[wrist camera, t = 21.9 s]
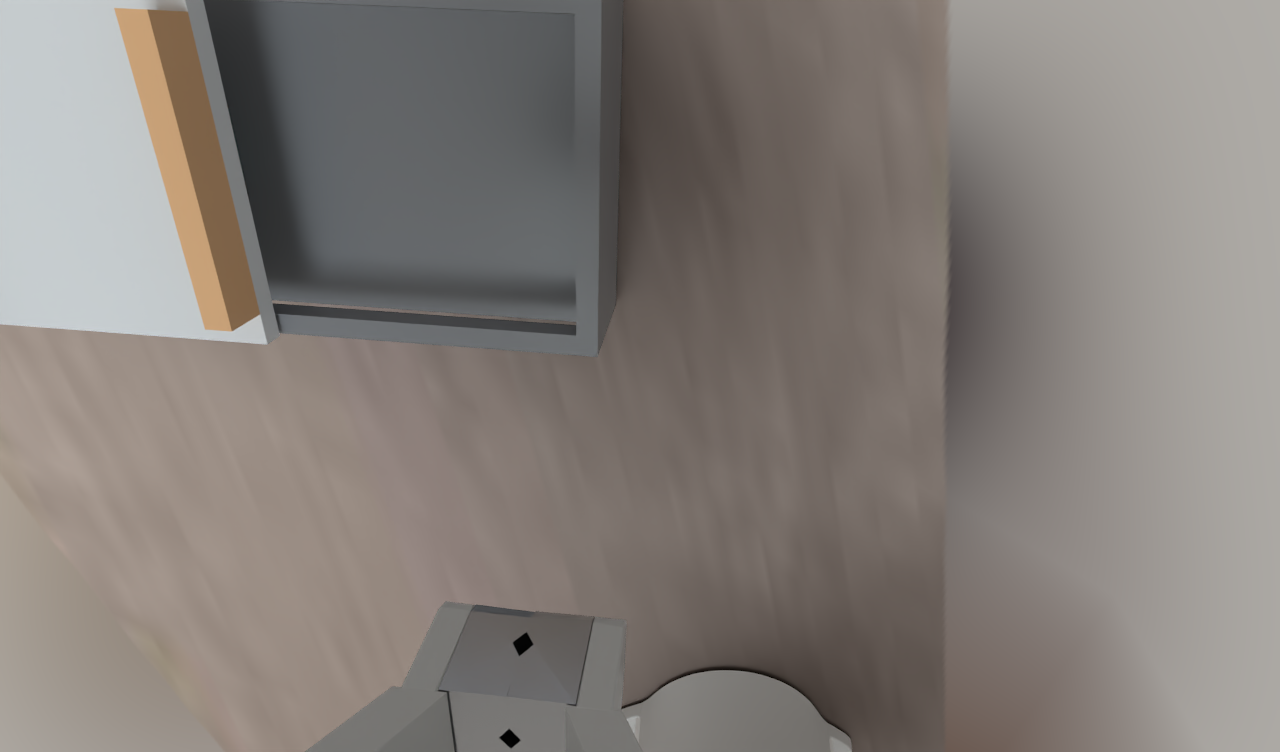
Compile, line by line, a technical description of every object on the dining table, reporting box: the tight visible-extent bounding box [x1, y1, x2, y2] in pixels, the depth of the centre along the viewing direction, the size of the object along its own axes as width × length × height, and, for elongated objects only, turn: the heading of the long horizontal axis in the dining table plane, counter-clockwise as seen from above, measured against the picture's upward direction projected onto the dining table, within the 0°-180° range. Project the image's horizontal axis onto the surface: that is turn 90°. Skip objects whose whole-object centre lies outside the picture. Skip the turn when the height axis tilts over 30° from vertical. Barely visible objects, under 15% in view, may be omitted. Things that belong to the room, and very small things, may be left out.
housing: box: [203, 0, 623, 357], centre depth 30 cm, size 15×30×9 cm, turn 88°
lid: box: [0, 0, 280, 344], centre depth 27 cm, size 15×14×3 cm
